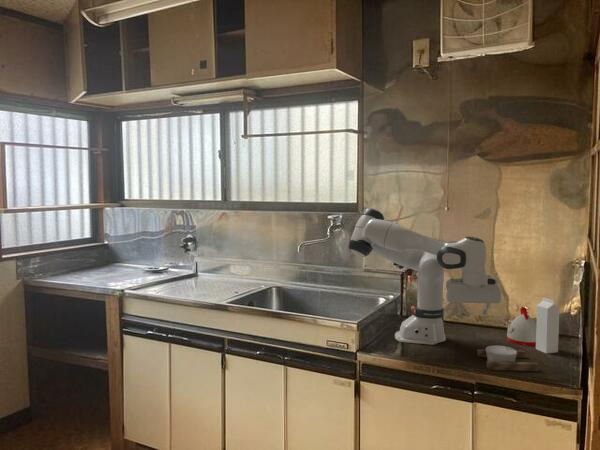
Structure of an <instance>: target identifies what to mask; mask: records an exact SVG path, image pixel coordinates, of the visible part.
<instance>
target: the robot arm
mask: <svg viewBox="0 0 600 450" xmlns="http://www.w3.org/2000/svg"><path fill="white" fill-rule="evenodd" d="M486 247H487V246H486V243H485V241H484V240H483V239H481V238H478V237H475V236H465V237H463V238H462V239H460V240H458V241H443V240H439V239H436V238H432V237H429V236H426V235H423V234H420V233H418V232H416V231H413V230H412V229H410V228H407V227H406V226H404V225H400V224H397V223H396V222H393V221H388V220H385V217H384V215H383V213H382V212H381V211H379V210H377V209H376V208H372V207H371V208H370V207H369V208H366V209H364V210H363V211H362V212H361V215H360V217H359V218H358V220H357V222H356V224H355V226H354V230H353V232H352V235H351V237H350V239H349V242H348V249H349V251H350V252H351V253H352V254H353V255H355V256H357V257H362V258H364V257H367V256H369V255H370V254H371V252H372V253H374V254H375V255H377V256H379V257H381V258H383V259H385V260H387V261H390V262H392V263H394V264H396V265H399V266H401V267H405V268H408V269H411V270H413V271H417V299H416V300H417V302H416V303H417V305H416V306H414V305H412V306H411V307H410V310H411V311H412V315H411V316H409V317H408V318H406V319H405V320H403V321H402V322H401V325H400V327H399V330H398V331H396V332H395V333H394V339H395V340H396V341H398V342H400V343H408V344H423V345H432V346H433V345H437V344H438V343H442V342H445V341H446V340H447V337H446V334H445V330H444V317H445V311H444V308H443V302H444V300H443V299H444V297H443V296H444V295H443V294H444V276H445V270H456V269H461V278H449V279H448V280H447V281H446V282H445V289H446V294H445V298H446V301H447V302H448V303H452V304H453V303H454V304H455V305H456V307H457V308H458V314H459V315H464V314H465V313H464V312H465V309H464V308H461V305H462V304H464V303H465V304H485V305H484V308H482V309H481V313H482V315H487V314H488V310H489V309H490V307H491V304H500V303H501V301H502V293H501V288H500V286H499V279H497V277H494V276H493V275H489V274H487V271H486V262H487V248H486Z"/></svg>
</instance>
